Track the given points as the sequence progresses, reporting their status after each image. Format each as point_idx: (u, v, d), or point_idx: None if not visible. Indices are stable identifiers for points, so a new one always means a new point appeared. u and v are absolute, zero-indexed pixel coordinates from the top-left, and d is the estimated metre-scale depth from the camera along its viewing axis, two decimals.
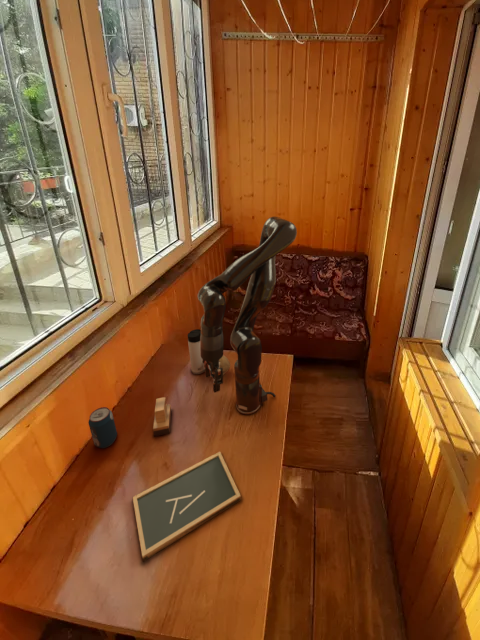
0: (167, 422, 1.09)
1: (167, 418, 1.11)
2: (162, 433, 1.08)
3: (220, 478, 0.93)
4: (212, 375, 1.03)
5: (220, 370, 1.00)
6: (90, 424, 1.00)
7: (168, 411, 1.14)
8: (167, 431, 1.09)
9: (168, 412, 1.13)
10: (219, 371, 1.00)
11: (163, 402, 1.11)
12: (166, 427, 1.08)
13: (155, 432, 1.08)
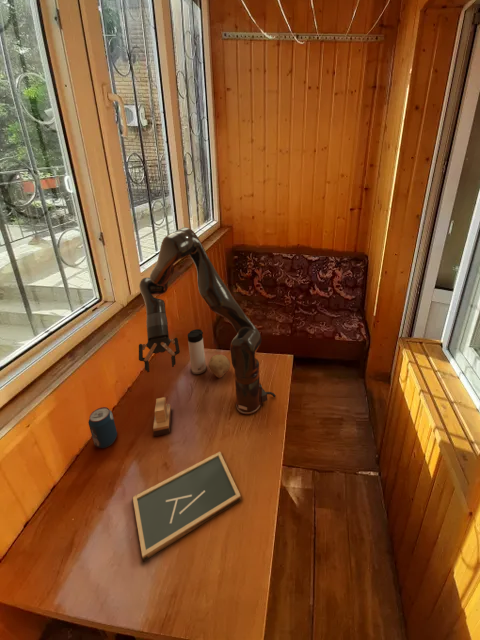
0: (167, 422, 1.09)
1: (167, 418, 1.11)
2: (162, 433, 1.08)
3: (220, 478, 0.93)
4: None
5: (139, 345, 1.16)
6: (90, 424, 1.00)
7: (168, 411, 1.14)
8: (167, 431, 1.09)
9: (168, 412, 1.13)
10: (139, 346, 1.16)
11: (163, 402, 1.11)
12: (166, 427, 1.08)
13: (155, 432, 1.08)
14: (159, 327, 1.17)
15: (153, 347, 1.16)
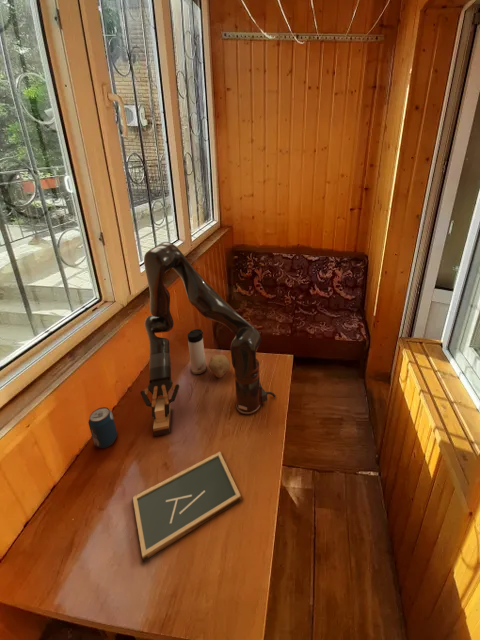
0: (167, 422, 1.09)
1: (167, 418, 1.11)
2: (162, 433, 1.08)
3: (220, 478, 0.93)
4: None
5: None
6: (90, 424, 1.00)
7: None
8: (167, 431, 1.09)
9: None
10: None
11: (163, 402, 1.11)
12: (166, 427, 1.08)
13: (155, 432, 1.08)
14: (160, 369, 1.13)
15: (155, 390, 1.11)
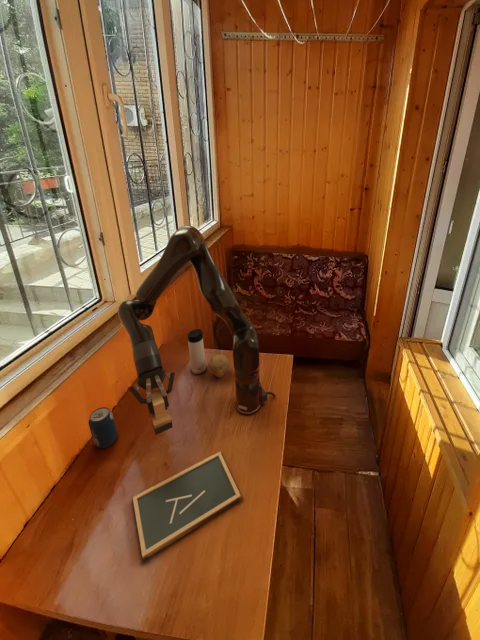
0: (168, 415, 0.95)
1: (167, 412, 0.97)
2: (164, 429, 0.94)
3: (220, 478, 0.93)
4: None
5: (130, 390, 0.94)
6: (90, 424, 1.00)
7: None
8: (170, 425, 0.95)
9: None
10: (130, 390, 0.94)
11: (160, 395, 0.96)
12: (169, 421, 0.94)
13: (156, 429, 0.93)
14: (150, 358, 0.97)
15: (148, 384, 0.95)
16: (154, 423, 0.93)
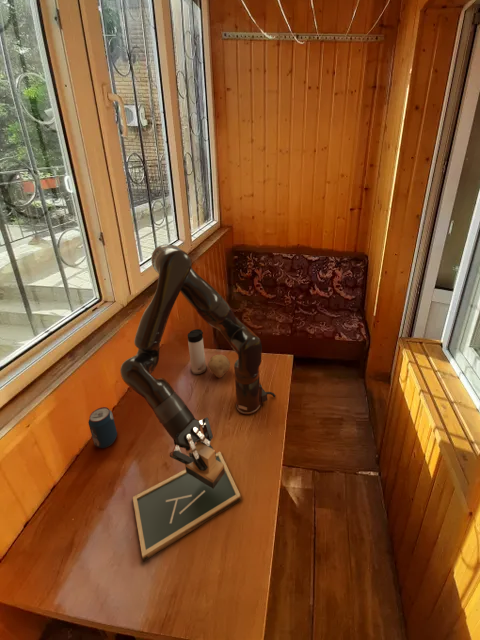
0: (219, 463, 0.88)
1: None
2: (219, 478, 0.87)
3: None
4: (187, 452, 0.86)
5: (173, 455, 0.82)
6: (90, 424, 1.00)
7: None
8: (223, 472, 0.88)
9: None
10: (173, 456, 0.82)
11: (204, 446, 0.87)
12: (222, 467, 0.88)
13: (214, 482, 0.85)
14: (184, 411, 0.86)
15: (190, 439, 0.85)
16: (210, 477, 0.85)
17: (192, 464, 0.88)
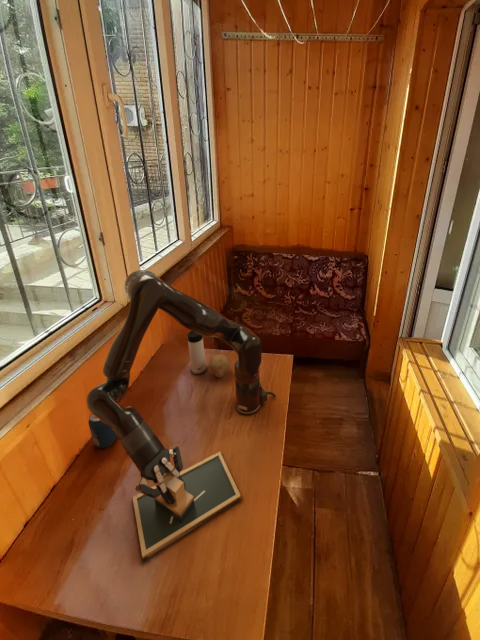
0: (188, 494, 0.85)
1: None
2: (188, 511, 0.84)
3: (220, 478, 0.93)
4: (154, 484, 0.83)
5: (138, 489, 0.79)
6: (90, 424, 1.00)
7: None
8: (193, 504, 0.86)
9: None
10: (138, 490, 0.79)
11: (173, 477, 0.85)
12: (192, 500, 0.85)
13: (182, 516, 0.82)
14: (152, 442, 0.84)
15: (157, 472, 0.82)
16: (178, 511, 0.82)
17: (160, 496, 0.85)
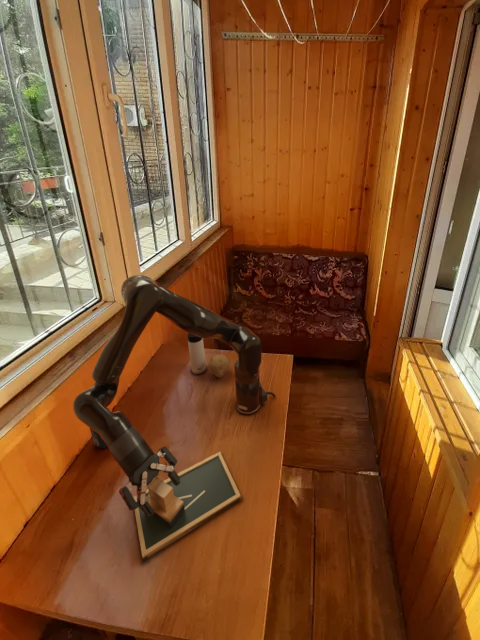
0: (178, 500, 0.84)
1: None
2: (178, 516, 0.83)
3: (220, 478, 0.93)
4: (137, 492, 0.81)
5: (121, 491, 0.77)
6: None
7: None
8: (183, 509, 0.84)
9: None
10: (121, 492, 0.77)
11: (162, 482, 0.83)
12: (181, 505, 0.84)
13: (171, 522, 0.81)
14: (140, 448, 0.82)
15: (144, 478, 0.81)
16: (167, 517, 0.80)
17: (150, 502, 0.84)
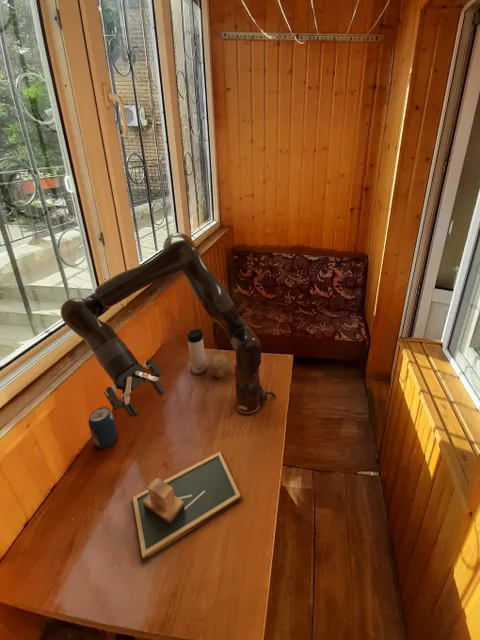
0: (178, 500, 0.84)
1: None
2: (178, 516, 0.83)
3: (220, 478, 0.93)
4: (121, 395, 0.83)
5: (106, 390, 0.80)
6: (90, 424, 1.00)
7: None
8: (183, 509, 0.84)
9: None
10: (105, 392, 0.80)
11: (162, 482, 0.83)
12: (181, 505, 0.84)
13: (171, 522, 0.81)
14: (125, 354, 0.85)
15: (128, 382, 0.83)
16: (167, 517, 0.80)
17: (150, 502, 0.84)
